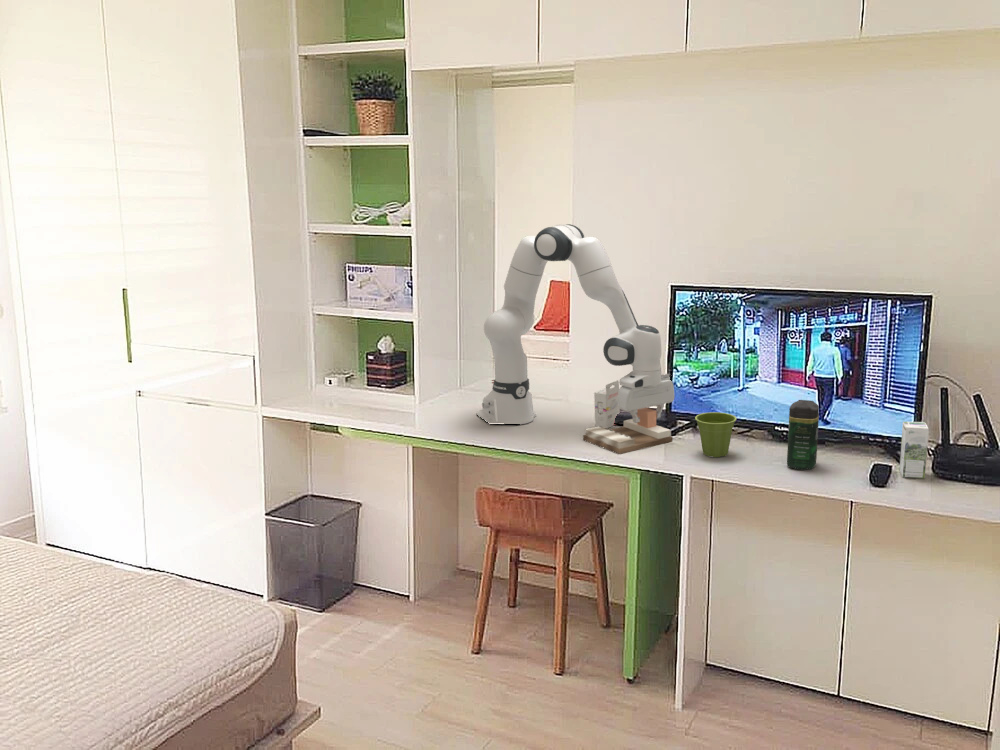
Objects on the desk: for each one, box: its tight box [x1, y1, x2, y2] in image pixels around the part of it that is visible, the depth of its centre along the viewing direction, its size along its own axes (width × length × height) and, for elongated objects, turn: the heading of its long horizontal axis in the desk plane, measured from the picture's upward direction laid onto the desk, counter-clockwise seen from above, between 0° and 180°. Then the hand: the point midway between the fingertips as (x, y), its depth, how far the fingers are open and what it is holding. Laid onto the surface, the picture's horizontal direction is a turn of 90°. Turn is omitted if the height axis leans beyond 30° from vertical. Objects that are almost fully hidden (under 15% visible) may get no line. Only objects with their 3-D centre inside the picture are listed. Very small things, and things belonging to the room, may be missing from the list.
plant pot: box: [694, 411, 738, 458], centre depth 276 cm, size 12×12×11 cm
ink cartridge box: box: [593, 379, 621, 429], centre depth 310 cm, size 9×5×15 cm, turn 143°
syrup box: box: [899, 421, 930, 479], centre depth 253 cm, size 6×6×14 cm
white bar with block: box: [623, 407, 672, 439], centre depth 296 cm, size 17×5×7 cm, turn 31°
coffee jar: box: [786, 399, 820, 471], centre depth 263 cm, size 10×8×19 cm
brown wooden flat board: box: [582, 425, 673, 455], centre depth 293 cm, size 18×21×4 cm
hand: (646, 420), depth 296 cm, fingers open, 7 cm apart
